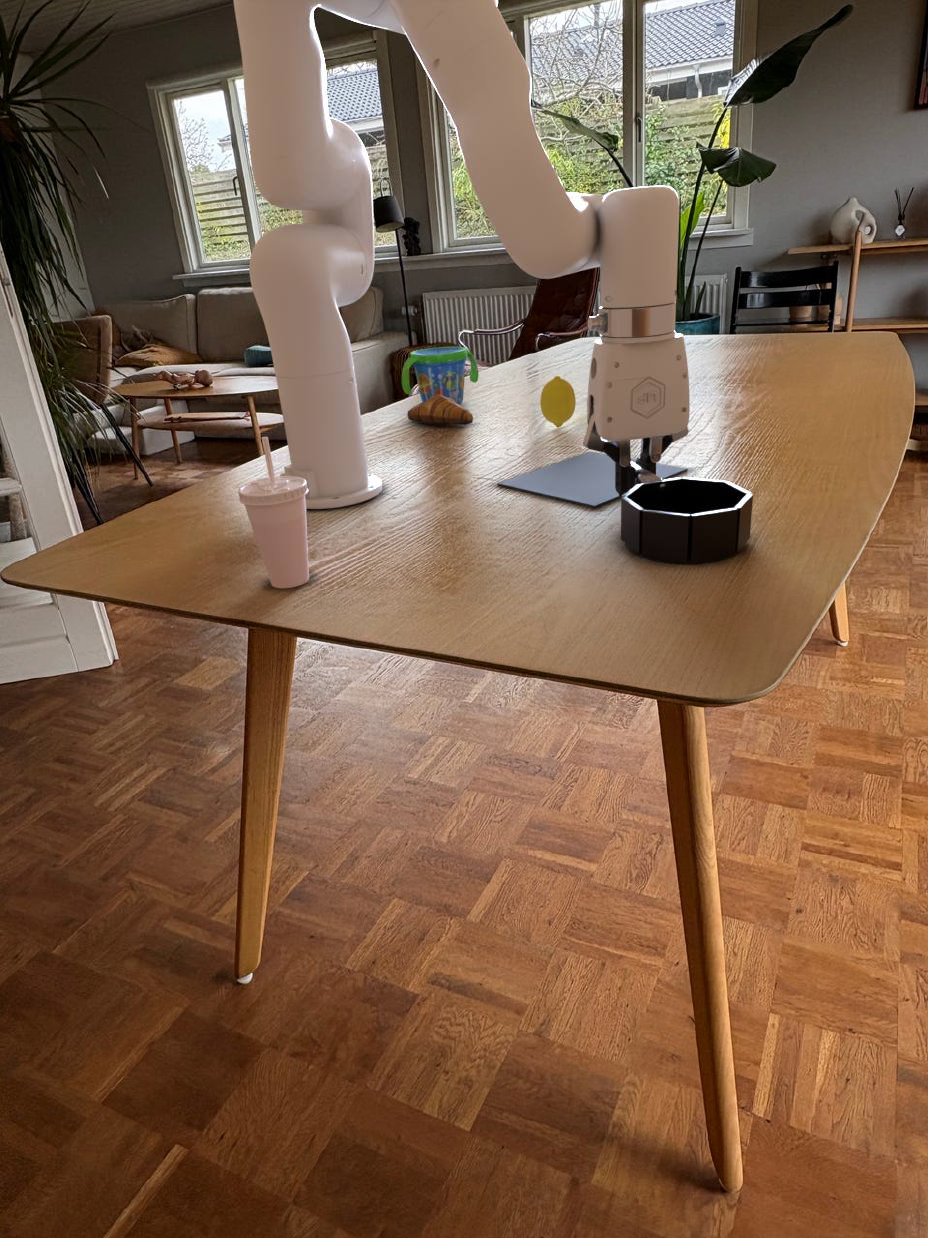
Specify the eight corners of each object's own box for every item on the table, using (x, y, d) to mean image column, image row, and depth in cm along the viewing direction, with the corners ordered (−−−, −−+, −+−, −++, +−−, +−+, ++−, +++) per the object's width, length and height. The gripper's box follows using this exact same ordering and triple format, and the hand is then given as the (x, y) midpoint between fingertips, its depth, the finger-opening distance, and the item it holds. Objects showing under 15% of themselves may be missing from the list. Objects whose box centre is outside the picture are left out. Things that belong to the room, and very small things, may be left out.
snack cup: (467, 396, 159) (463, 342, 155) (493, 403, 151) (489, 346, 146) (394, 409, 153) (388, 353, 149) (417, 417, 145) (411, 358, 140)
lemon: (575, 422, 131) (574, 371, 128) (576, 430, 126) (575, 377, 123) (541, 424, 132) (539, 374, 129) (541, 432, 127) (539, 380, 124)
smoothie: (326, 565, 82) (303, 427, 76) (318, 590, 76) (293, 444, 70) (263, 571, 82) (236, 433, 76) (251, 596, 76) (219, 450, 70)
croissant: (483, 421, 137) (481, 391, 135) (460, 430, 132) (458, 399, 130) (422, 417, 145) (419, 388, 143) (397, 425, 140) (394, 396, 138)
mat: (594, 508, 92) (594, 505, 92) (497, 485, 103) (497, 483, 103) (687, 470, 102) (687, 468, 102) (589, 453, 113) (589, 451, 113)
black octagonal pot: (769, 552, 76) (774, 502, 74) (654, 571, 74) (656, 520, 72) (668, 491, 95) (669, 450, 93) (575, 505, 93) (574, 463, 91)
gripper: (577, 335, 78) (580, 517, 86) (726, 318, 80) (715, 496, 88) (553, 328, 84) (558, 497, 92) (691, 313, 87) (684, 479, 95)
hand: (635, 496), depth 90 cm, fingers closed on black octagonal pot, 1 cm apart
